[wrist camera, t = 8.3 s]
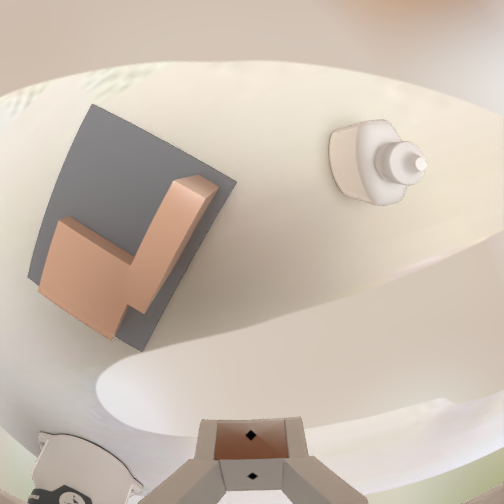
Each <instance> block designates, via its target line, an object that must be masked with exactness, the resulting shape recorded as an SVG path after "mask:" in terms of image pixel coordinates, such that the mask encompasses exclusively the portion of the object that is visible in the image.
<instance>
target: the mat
mask: <svg viewBox="0 0 504 504" xmlns="http://www.w3.org/2000/svg"><path fill="white" fill-rule="evenodd" d="M198 174H199V175H200V176H202V177H204V178H206V179H207V180H209V181H211V182H213V183H214V184H216V185H218V186H220V187H219V189H218V190H217V192H216V194H215V195H214V197H213V199H212V201H211V202H210V204H209V206H208V207H207V209H206V211H205V213H204V214H203V216H202V218H201V220H200V221H199V223H198V225H197V227H196V229H195V230H194V232H193V234H192V236H191V238H190V239H189V241H188V243H187V245H186V247H185V248H184V250H183V252H182V254H181V256H180V258H179V259H178V261H177V263H176V265H175V267H174V268H173V270H172V271H171V273H170V275H169V276H168V278H167V279H166V281H165V282H164V284H163V285H162V287H161V288H160V290H159V291H158V293H157V295H156V296H155V298H154V299H153V301H152V302H151V304H150V306H149V307H148V309H147V310H146V312H145V314H143V313H141V312H140V311H138V310H136V309H135V308H133V307H131V306H129V308H128V310H127V312H126V314H125V316H124V319H123V321H122V323H121V326H120V328H119V330H118V332H117V333H116V335H115V337H117V338H119V339H121V340H122V341H124V342H126V343H127V344H129V345H131V346H133V347H134V348H136V349H138V350H140V351H143V349H144V347H145V346H146V344H147V342H148V340H149V338H150V336H151V334H152V332H153V330H154V328H155V326H156V324H157V322H158V321H159V319H160V317H161V315H162V313H163V311H164V309H165V307H166V305H167V304H168V302H169V300H170V298H171V296H172V294H173V292H174V291H175V289H176V287H177V285H178V283H179V281H180V280H181V278H182V276H183V274H184V272H185V271H186V269H187V267H188V265H189V263H190V262H191V260H192V258H193V256H194V254H195V253H196V251H197V249H198V247H199V246H200V244H201V242H202V240H203V239H204V237H205V235H206V233H207V232H208V230H209V228H210V226H211V225H212V223H213V221H214V220H215V218H216V216H217V214H218V213H219V211H220V209H221V208H222V206H223V204H224V203H225V201H226V199H227V197H228V196H229V194H230V192H231V191H232V189H233V187H234V186H235V184H236V181H234V180H232V179H231V178H229V177H227V176H226V175H224V174H222V173H220V172H219V171H217V170H215V169H213V168H212V167H210V166H208V165H206V164H205V163H203V162H201V161H199V160H198V159H196V158H194V157H192V156H190V155H189V154H187V153H185V152H183V151H181V150H180V149H178V148H176V147H174V146H172V145H170V144H169V143H167V142H165V141H163V140H161V139H159V138H158V137H156V136H154V135H152V134H150V133H148V132H146V131H144V130H142V129H141V128H139V127H137V126H135V125H133V124H131V123H129V122H127V121H125V120H123V119H121V118H119V117H117V116H115V115H114V114H112V113H110V112H108V111H106V110H104V109H102V108H100V107H98V106H96V105H94V104H92V105H91V107H90V109H89V111H88V113H87V114H86V116H85V118H84V120H83V122H82V124H81V126H80V128H79V131H78V133H77V135H76V137H75V139H74V141H73V143H72V146H71V148H70V150H69V152H68V155H67V157H66V159H65V162H64V164H63V166H62V169H61V171H60V174H59V176H58V179H57V182H56V184H55V187H54V189H53V192H52V195H51V198H50V201H49V203H48V206H47V209H46V212H45V215H44V218H43V221H42V225H41V228H40V231H39V235H38V238H37V242H36V245H35V249H34V252H33V256H32V260H31V264H30V268H29V273H28V278H29V279H31V280H32V281H33V282H35V283H36V284H37V285H40V281H41V277H42V273H43V270H44V266H45V262H46V259H47V255H48V252H49V249H50V245H51V242H52V239H53V236H54V233H55V230H56V227H57V224H58V221H59V220H60V219H63V218H66V217H69V216H70V217H72V218H74V219H75V220H77V221H78V222H80V223H81V224H83V225H84V226H86V227H87V228H89V229H91V230H92V231H94V232H95V233H97V234H99V235H100V236H102V237H103V238H105V239H107V240H108V241H110V242H111V243H113V244H115V245H116V246H118V247H120V248H121V249H123V250H124V251H126V252H128V253H129V254H131V255H133V256H134V257H135V255H136V253H137V251H138V249H139V247H140V245H141V243H142V241H143V239H144V237H145V235H146V233H147V230H148V228H149V226H150V224H151V222H152V220H153V219H154V217H155V215H156V213H157V211H158V209H159V207H160V205H161V203H162V201H163V199H164V197H165V195H166V194H167V192H168V190H169V188H170V186H171V184H172V182H173V181H174V180H177V179H181V178H185V177H190V176H194V175H198Z"/></svg>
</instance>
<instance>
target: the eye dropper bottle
mask: <svg viewBox="0 0 504 504" xmlns="http://www.w3.org/2000/svg"><path fill="white" fill-rule="evenodd" d="M329 161H330V166H331V170H332V174H333V176H334V179H335V181H336V183H337V185H338V187H339V188H340V190H341V191H342V193H344V194H345V195H347V196H350V197H352V198H355V199H358V200H361V201H364V202H367V203H370V204H374V205H378V206H384V205H390V204H394V203H398V202H399V201H401V200H402V198H403V197H404V194H405V191H406V188H407V186H408V185H409V186H410V185H413V184H415V183H417V182H419V181H420V179H421V178H422V177H423V174H424V172H425V169H426V167H427V162H426V160H425V158H424V155H423V153H422V151H421V150H420V148H419V147H417V145H415V144H414V143H412V142H408V141H402V140H401V138H400V136H399V134H398V132H397V131H396V129H395V128H394V127H393V125H392V124H391V123H390V122H389V121H387V120H370V121H364V122H360V123H357V124H354V125H350V126H347V127H344V128H341V129H339V130H336V131H334V132H333V133H332V135H331V138H330V144H329Z"/></svg>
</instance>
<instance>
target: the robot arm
mask: <svg viewBox="0 0 504 504" xmlns="http://www.w3.org/2000/svg"><path fill="white" fill-rule="evenodd" d="M38 442H39V446H40V450H41V453H40V455H39V457H38V459H37V461H36V463H35V465H34V467H33V469H32V471H31V475H32V479H33V481H34V483H35V488H36V489H34V490H33V491H32V493H31V495H30V496H29V499H28V502H27V503H26V502H24V501H22V500H20V499H18V498H16V497H14V496H12V495H10V494H8V493H7V492H5V491H3V490H1V489H0V504H127V501H128V498H129V497H131V496H133V495H136V494H138V493H140V492H141V491H142V488H143V486H142V485H141V484H140V483H139V482H138V481H136V480H135V479H134V478H133V477H132V476H131V474H130V473H129V471H128V469H127V468H126V467H125V466H124V465H123V464H122V463H121V462H120V461H119V460H118V459H116V458H115V457H114V456H112V455H111V454H110V453H108V452H107V451H105V450H103V449H102V448H100V447H98V446H96V445H94V444H92V443H90V442H88V441H85V440H83V439H80V438H77V437H74V436H70V435H50V434H47V433H43V432H40V433H39V435H38ZM249 490H282V491H283V492H284V494H285V495H286V496H287V497H288V498H289V499H290V500H291V502H292V503H293V504H368V500H367V498H366V497H365V496H363V495H362V494H361V493H359V492H358V491H357V490H355V489H354V488H353V487H351V486H350V485H349V484H348V483H346V482H345V481H344V480H343V479H341V478H340V477H339V476H337V475H336V474H335V473H334V472H333V471H331V470H330V469H329V468H328V467H326V466H325V465H324V464H323V463H322V462H320V461H319V460H318V459H317V458H316V457H315V456H309V455H308V449H307V444H306V438H305V433H304V428H303V422H302V418H301V417H290V418H276V419H259V420H204V419H202V421H201V423H200V428H199V433H198V439H197V445H196V451H195V457H194V459H189V460H188V461H187V462H185V463H184V464H183V465H182V466H181V467H180V468H179V469H178V470H176V471H175V472H174V473H173V474H172V475H171V476H169V477H168V478H167V479H166V480H165V481H164V482H162V483H161V484H160V485H159V486H158V487H156V488H155V489H154V490H153V491H152V492H150V493H149V494H148V495H147V496H145V497H144V498H143V499H142V500H140V501H139V502H138V504H217V503H218V502H219V501H220V499H221V498H222V497H223V496H224V494H225V493H226V491H249ZM462 504H504V481H503V482H502V483H500V484H498V485H497V486H495V487H493V488H491V489H489V490H487V491H486V492H484V493H482V494H480V495H478V496H476V497H474V498H472V499H470V500H468V501H466V502H464V503H462Z"/></svg>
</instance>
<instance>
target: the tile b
mask: <svg viewBox="0 0 504 504" xmlns="http://www.w3.org/2000/svg"><path fill="white" fill-rule="evenodd" d="M219 187H220V186H218V185H216V184H214V183H213V182H211V181H209V180H207V179H206V178H204V177H202V176H200V175H199V174H198V175H194V176H190V177H185V178H181V179H177V180H174V181H173V182H172V184H171V186H170V188H169V190H168V192H167V194H166V195H165V197H164V199H163V201H162V203H161V205H160V207H159V209H158V211H157V213H156V215H155V217H154V219H153V220H152V222H151V224H150V226H149V228H148V230H147V233H146V235H145V237H144V239H143V241H142V243H141V245H140V247H139V249H138V251H137V253H136V255H135V258H134V260H133V262H132V264H131V266H130V268H129V271H128V273H127V275H126V277H125V279H124V282H123V284H122V286H121V289H120V291H119V293H118V296H117V298H118V299H119V300H121V301H123V302H124V303H126V304H128V305H129V306H131V307H133V308H135V309H136V310H138V311H140V312H141V313H143V314H145V312H146V310H147V309H148V307H149V306H150V304H151V302H152V301H153V299H154V298H155V296H156V295H157V293H158V291H159V290H160V288H161V287H162V285H163V284H164V282H165V281H166V279H167V278H168V276H169V275H170V273H171V271H172V270H173V268H174V267H175V265H176V263H177V261H178V259H179V258H180V256H181V254H182V252H183V250H184V248H185V247H186V245H187V243H188V241H189V239H190V238H191V236H192V234H193V232H194V230H195V229H196V227H197V225H198V223H199V221H200V220H201V218H202V216H203V214H204V213H205V211H206V209H207V207H208V206H209V204H210V202H211V201H212V199H213V197H214V195H215V194H216V192H217V190H218V189H219Z"/></svg>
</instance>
